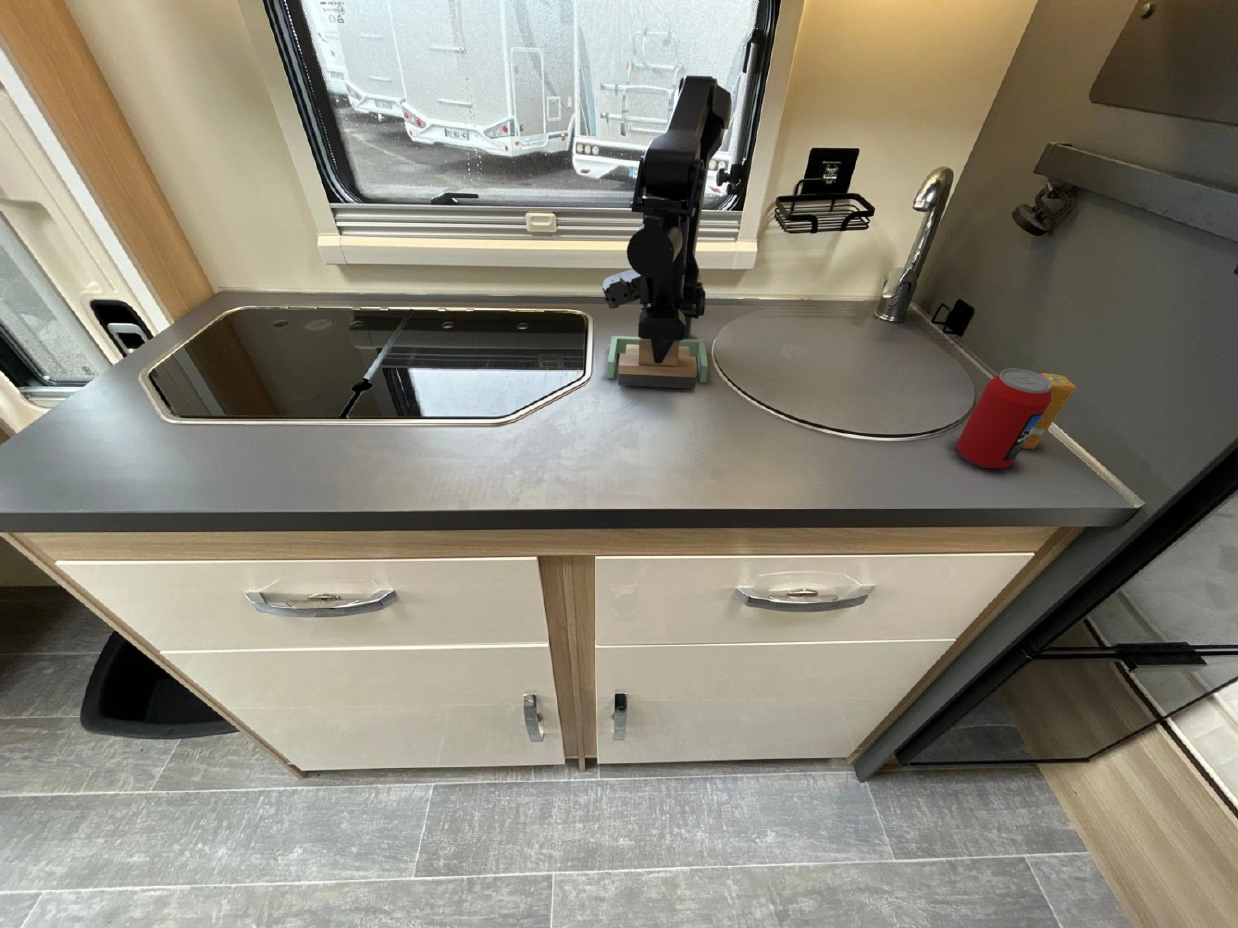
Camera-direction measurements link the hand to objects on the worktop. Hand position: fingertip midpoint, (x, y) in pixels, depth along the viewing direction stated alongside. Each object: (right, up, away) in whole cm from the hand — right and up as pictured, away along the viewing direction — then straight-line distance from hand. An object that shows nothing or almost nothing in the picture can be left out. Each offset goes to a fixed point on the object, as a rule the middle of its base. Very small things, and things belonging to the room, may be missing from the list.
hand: (658, 357), depth 81 cm
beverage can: (+43, -16, -10) cm, 47 cm away
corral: (0, 0, +8) cm, 8 cm away
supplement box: (+50, -14, -8) cm, 52 cm away
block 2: (+3, -1, +6) cm, 7 cm away
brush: (0, -3, +2) cm, 4 cm away
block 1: (-3, -1, +6) cm, 7 cm away
